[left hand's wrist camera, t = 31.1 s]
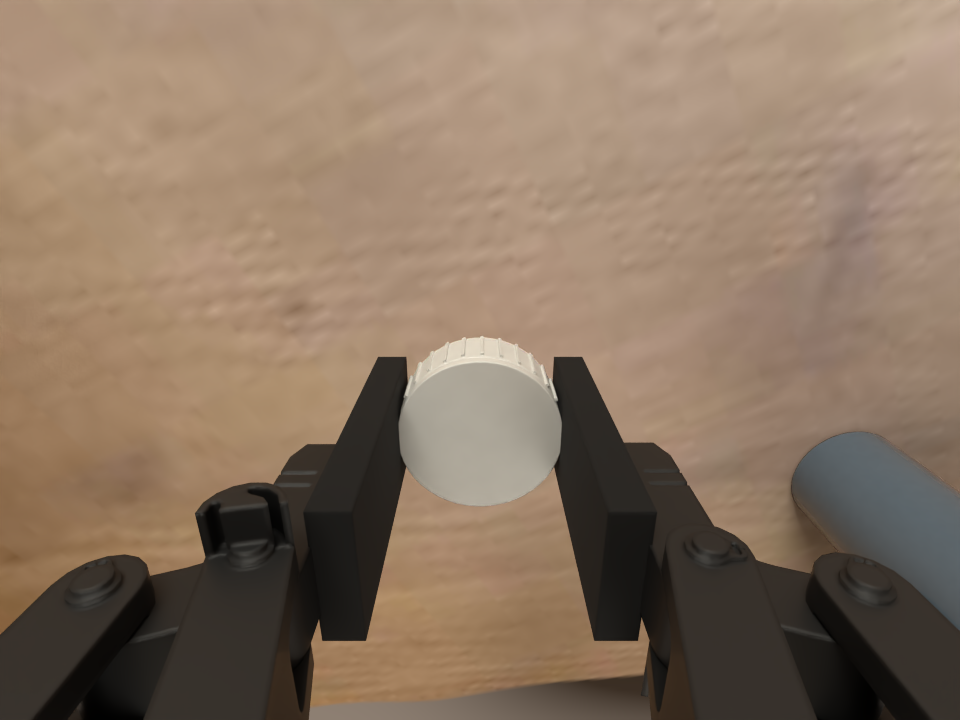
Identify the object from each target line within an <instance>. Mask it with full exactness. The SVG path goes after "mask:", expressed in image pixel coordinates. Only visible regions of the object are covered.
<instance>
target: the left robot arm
mask: <svg viewBox="0 0 960 720" xmlns="http://www.w3.org/2000/svg"><path fill="white" fill-rule="evenodd" d="M407 385H408V379H407V361H406V357H378V358H377V361H376V363H375V365H374V367H373V369H372V371H371V373H370V375H369V377H368V379H367V381H366V383H365V385H364V387H363V389H362V391H361V394H360V396H359V398H358V400H357V402H356V404H355V406H354V408H353V410H352V412H351V414H350V416H349V418H348V420H347V422H346V424H345V427H344V429H343V431H342V433H341V435H340V437H339V439H338V441H337V443H336V444H307V445H306V446H304V447H303V448H302V449H300V450H299V451H298V452H296V453H295V454H294V455H292V456H291V457H290V458H289V460H288V461H287V463H286V465H285V466H284V468H283V470H282V471H281V475H279V476H278V478H277V479H276V481H275V483H274V485H273V484H269V483H247V484H242V485H238V486H233V487H231V488H228V489H226V490H223V491H221V492H219V493H216V494H215V495H214V496H212V497H211V498H209V499H208V500H206V501H205V502H204V503H203V504H202V505H201V506H200V508H199V509H198V510H197V511H196V513H195V515H196V520H197V524H198V528H199V532H200V536H201V540H202V544H203V548H204V553H205V560H204V563H201V564H198V565H195V566H191V567H188V568H184V569H179V570H175V571H170V572H166V573H161V574H157V575H152V576H150V574H149V571H148V567H147V564H146V563H145V562H143V561H142V560H141V559H140V558H139V557H135V556H130V555H116V556H107V557H104V558H100V559H97V560H94V561H91V562H88V563H86V564H84V565H82V566H80V567H78V568H76V569H74V570H72V571H70V572H68V573H67V574H65V575H64V576H63V577H61V578H60V579H59V580H57V581H56V582H55V583H54V584H52V585H51V586H50V587H49V588H48V589H47V590H46V591H45V592H44V593H43V594H42V595H41V596H40V597H39V598H38V599H37V600H36V601H35V602H34V603H32V604H31V605H30V606H29V607H28V608H27V609H26V610H25V611H24V612H23V613H22V614H21V615H20V616H19V617H18V618H17V619H16V620H15V621H14V622H13V623H12V624H11V625H10V626H9V627H8V628H7V629H6V630H5V631H4V632H3V633H2V634H1V635H0V720H309V710H310V700H311V689H312V679H313V668H314V661H313V654H312V648H311V641H312V638H313V635H314V632H315V629H316V626H317V623H318V620H319V621H320V628H321V635H322V641H366V638H367V634H368V630H369V625H370V621H371V617H372V612H373V608H374V604H375V599H376V595H377V591H378V586H379V582H380V578H381V573H382V569H383V565H384V560H385V556H386V552H387V547H388V543H389V539H390V534H391V530H392V526H393V521H394V517H395V513H396V508H397V504H398V500H399V495H400V491H401V487H402V482H403V478H404V474H405V469H406V465H405V463H404V461H403V459H402V456H401V453H400V441H399V424H398V422H399V417H400V413H401V412H400V411H401V408H402V404H403V401H404V394H405V391H406V388H407ZM553 385H554V388H555V392H556V395H557V398H558V401H556V402H557V405H558V409H559V412H560V416H561V420H562V431H561V446H560V454H559V457H558V460H557V462H556V464H555V466H554V468H555V472H556V477H557V481H558V485H559V489H560V494H561V498H562V502H563V507H564V511H565V515H566V520H567V524H568V528H569V533H570V537H571V541H572V546H573V550H574V554H575V559H576V563H577V567H578V572H579V576H580V580H581V585H582V589H583V593H584V598H585V602H586V606H587V611H588V615H589V619H590V624H591V628H592V632H593V637H594V641H638V637H639V630H640V624H641V617H642V620H643V622H644V625H645V628H646V631H647V634H648V637H649V640H650V641H649V648H648V654H647V660H646V666H645V672H644V678H643V685H642V692H641V695H642V696H646V697H648V693H649V699H650V709H651V720H895V719H896V720H960V631H959V630H958V629H957V628H956V627H955V626H954V625H953V624H952V623H951V622H950V621H949V620H948V619H947V618H946V617H945V616H944V615H943V614H942V613H941V612H940V611H939V610H938V609H937V608H936V607H935V606H933V605H932V604H931V603H930V602H929V601H928V600H927V599H926V598H925V597H924V596H923V595H922V594H921V593H920V592H919V591H918V590H917V589H916V588H915V587H914V586H913V585H912V584H911V583H909V582H908V581H907V580H905V579H904V578H903V577H902V576H900V575H899V574H898V573H896V572H895V571H894V570H892V569H890V568H888V567H886V566H884V565H882V564H880V563H878V562H876V561H874V560H871V559H868V558H865V557H861V556H858V555H855V554H847V553H837V552H835V553H830V554H825V555H822V556H821V557H820V558H819V559H817V560H816V561H815V562H814V566H813V569H812V572H811V574H809V573H804V572H800V571H795V570H791V569H787V568H782V567H778V566H773V565H770V564H767V563H763V562H760V561H757V560H756V559H755V557H754V555H753V554H752V552H751V551H750V549H749V548H748V546H747V545H746V544H745V543H744V542H742V541H741V540H740V539H739V538H737V537H736V536H735V535H733V534H731V533H729V532H727V531H725V530H723V529H721V528H718V527H714V525H713V524H712V522H711V520H710V519H709V517H708V515H707V514H706V512H705V511H704V509H703V507H702V506H701V504H700V502H699V501H698V499H697V498H696V496H695V494H694V493H693V491H692V490H691V488H690V486H687V481H686V480H685V478H684V477H683V475H682V473H680V472H679V471H680V470H679V468H678V467H677V465H676V464H675V462H674V460H673V459H672V457H671V455H669V454H668V453H667V452H665V451H664V450H662V449H661V448H660V447H658V446H657V445H656V444H654V443H624V442H623V440H622V438H621V436H620V434H619V432H618V430H617V428H616V426H615V424H614V422H613V420H612V418H611V415H610V413H609V411H608V409H607V407H606V405H605V403H604V401H603V399H602V397H601V395H600V393H599V391H598V389H597V387H596V385H595V382H594V380H593V378H592V376H591V374H590V372H589V370H588V368H587V366H586V364H585V362H584V360H583V358H582V357H554V367H553ZM885 706H886V707H887V708H886V707H885ZM887 709H888V710H889V711H890V712H889V711H888V710H887ZM74 710H75V711H74ZM890 713H891V714H892V715H893V716H892V715H891V714H890ZM71 714H72V715H71Z"/></svg>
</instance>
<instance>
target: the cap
mask: <svg viewBox="0 0 960 720" xmlns="http://www.w3.org/2000/svg"><path fill="white" fill-rule="evenodd" d="M556 401H558V398H557V395H556V392H555V388H554V385H553V382H552V379H551V378H550V379H549V378H548V376H547V374H546V372H545V368H544V366H543V364H542V365H540V364H539V363H538V362H537V361H536V360H535V359H534V358H533V355H532V353H529V354H528V353H527V352H525V351H524V350H523V349H521V348H519V347H518V345H517V344H515V345H513V344H510V343H508V342H505V341H502V340H501V338H498V340H497V339H492V338H484V336H480V338H469V339H466V337H464V338H462V340H459V341H455V342H452V343H450V344H449V343H448V342H447V343H445V346H443V347H441V348H440V349H438V350H436V351H435V352H434V351H432V352H431V353H430V356H428V357H427V358H426V359H425V360H424V361H423V362H422V363H421V362H420V363H419V364H418V367H417V370H416V372H415V373H414V375H413V376H412V375H411V376H410V378H409V381H408V385H407V388H406V391H405V394H404V401H403V404H402V408H401V411H400V412H401V413H400V417H399V422H398V424H399V441H400V453H401V456H402V459H403V461H404V463H405V465H406V467H407V468H408V470H409V471H410V473H411V474H412V475H413V477H414V478H415V479H416V480H417V481H418V482H419V483H420V484H421V485H422V486H423V487H425V488H426V489H427V490H428V491H430V492H432V493H433V494H435V495H437V496H439V497H441V498H443V499H445V500H448V501H451V502H454V503H457V504H462V505H468V506H493V505H499V504H503V503H507V502H510V501H513V500H516V499H518V498H520V497H522V496H524V495H526V494H527V493H529V492H530V491H532V490H533V489H535V488H536V487H537V486H538V485H539V484H541V483H542V481H543V480H544V479H545V478H546V477H547V476H548V475H549V473H550V472H551V471H552V469H553V467H554V466H555V464H556V462H557V460H558V457H559V454H560V446H561V431H562V420H561V416H560V412H559V409H558V405H557V402H556Z"/></svg>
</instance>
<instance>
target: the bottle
mask: <svg viewBox="0 0 960 720" xmlns="http://www.w3.org/2000/svg"><path fill="white" fill-rule="evenodd" d="M792 494H793V498H794V500H795V503H796V504H797V505H798V507H799V508H800V509H801V510H802V511H803V513H804V514H805V515H806V516H807V517H808V518H809V519H810V520H811V522H812V523H813V524H814V525H815V526H816V527H817V528H818V529H819V531H820V532H821V533H822V534H823V535H824V536H825V537H826V538H827V540H828V541H829V542H830V543H831V544H832V545H833V546H834V547H835V549H836V550H837V551H838V552H839V553H847V554H855V555H858V556H861V557H865V558H868V559H871V560H874V561H876V562H878V563H880V564H882V565H884V566H886V567H888V568H890V569H892V570H894V571H895V572H896V573H898V574H899V575H900V576H902V577H903V578H904V579H905V580H907V581H908V582H909V583H911V584H912V585H913V586H914V587H915V588H916V589H917V590H918V591H919V592H920V593H921V594H922V595H923V596H924V597H925V598H926V599H927V600H928V601H929V602H930V603H931V604H932V605H933V606H935V607H936V608H937V609H938V610H939V611H940V612H941V613H942V614H943V615H944V616H945V617H946V618H947V619H948V620H949V621H950V622H951V623H952V624H953V625H954V626H955V627H956V628H957V629H958V630H959V631H960V492H958V491H957V490H956V489H954V488H953V487H951V486H950V485H949V484H947V483H946V482H945V481H943V480H942V479H940V478H939V477H938V476H936V475H935V474H933V473H932V472H931V471H929V470H928V469H927V468H925V467H924V466H922V465H921V464H920V463H918V462H917V461H915V460H914V459H913V458H911V457H910V456H909V455H907V454H906V453H904V452H903V451H902V450H900V449H899V448H898V447H896V446H895V445H893V444H892V443H891V442H889V441H888V440H886V439H885V438H883V437H881V436H879V435H876V434H873V433H868V432H850V433H844V434H840V435H837V436H834V437H832V438H829V439H827V440H825V441H824V442H822V443H820V444H819V445H817V446H816V447H814V448H813V449H812V450H811V451H810V452H808V453H807V455H806V456H805V457H804V458H803V459H802V460H801V462H800V463H799V465H798V466H797V468H796V470H795V473H794V475H793V479H792Z"/></svg>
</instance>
